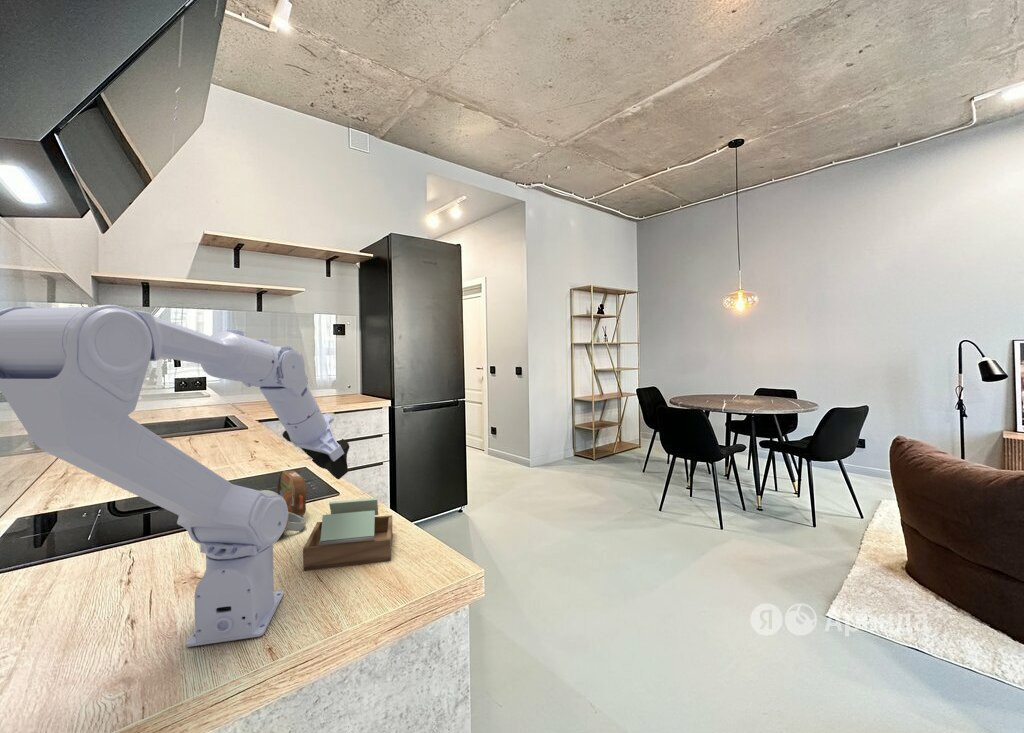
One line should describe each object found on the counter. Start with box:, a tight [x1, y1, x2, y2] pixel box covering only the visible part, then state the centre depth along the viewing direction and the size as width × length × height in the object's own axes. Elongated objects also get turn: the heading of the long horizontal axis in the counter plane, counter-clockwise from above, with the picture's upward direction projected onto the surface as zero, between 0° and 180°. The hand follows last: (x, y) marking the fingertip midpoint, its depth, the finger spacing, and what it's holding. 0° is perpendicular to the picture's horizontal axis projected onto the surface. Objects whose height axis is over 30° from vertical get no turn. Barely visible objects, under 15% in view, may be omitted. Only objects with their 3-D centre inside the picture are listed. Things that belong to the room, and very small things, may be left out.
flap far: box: [329, 497, 379, 516], centre depth 77 cm, size 8×4×1 cm
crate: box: [302, 515, 393, 572], centre depth 73 cm, size 11×13×3 cm
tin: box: [277, 470, 308, 518], centre depth 91 cm, size 15×3×8 cm, turn 39°
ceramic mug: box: [260, 489, 307, 533], centre depth 80 cm, size 11×8×8 cm
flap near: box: [320, 510, 376, 545], centre depth 69 cm, size 8×5×1 cm
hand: (329, 464), depth 75 cm, fingers open, 7 cm apart
